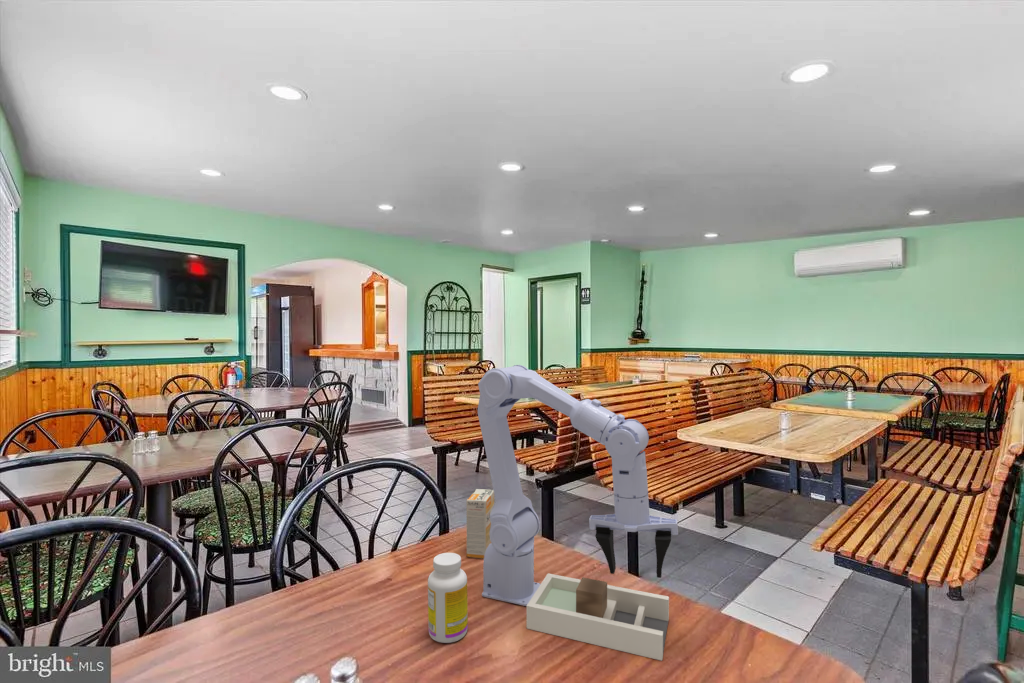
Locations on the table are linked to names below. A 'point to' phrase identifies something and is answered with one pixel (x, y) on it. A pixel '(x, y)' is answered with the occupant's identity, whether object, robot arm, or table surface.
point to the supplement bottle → (447, 599)
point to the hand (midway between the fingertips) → (635, 573)
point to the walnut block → (591, 597)
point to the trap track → (624, 626)
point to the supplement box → (479, 522)
